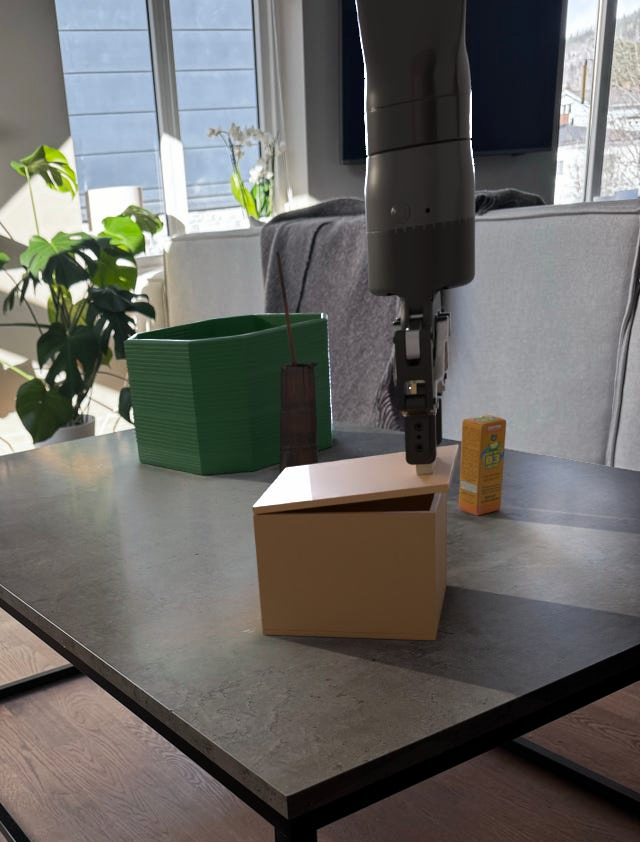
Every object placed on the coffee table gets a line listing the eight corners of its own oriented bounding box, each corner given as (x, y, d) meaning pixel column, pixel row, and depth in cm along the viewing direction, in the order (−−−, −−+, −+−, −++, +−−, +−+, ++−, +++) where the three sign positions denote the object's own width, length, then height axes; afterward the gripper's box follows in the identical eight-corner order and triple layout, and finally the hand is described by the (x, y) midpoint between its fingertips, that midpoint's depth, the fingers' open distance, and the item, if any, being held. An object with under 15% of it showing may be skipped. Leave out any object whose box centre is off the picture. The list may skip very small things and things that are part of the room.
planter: (224, 480, 124) (211, 342, 117) (120, 458, 144) (103, 339, 137) (358, 439, 137) (353, 311, 130) (245, 424, 157) (236, 313, 150)
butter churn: (359, 476, 118) (351, 242, 107) (305, 494, 114) (291, 252, 102) (309, 467, 125) (297, 247, 114) (256, 484, 121) (239, 256, 109)
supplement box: (478, 517, 98) (480, 423, 94) (457, 510, 101) (459, 419, 97) (504, 510, 99) (507, 417, 95) (482, 503, 102) (484, 413, 98)
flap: (459, 451, 77) (453, 393, 75) (449, 491, 67) (442, 426, 65) (286, 474, 83) (277, 421, 81) (252, 514, 73) (242, 455, 71)
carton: (446, 584, 82) (447, 469, 78) (435, 640, 72) (435, 512, 68) (293, 582, 87) (286, 474, 83) (262, 634, 77) (252, 515, 73)
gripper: (469, 214, 58) (470, 476, 65) (479, 209, 70) (479, 430, 77) (350, 231, 61) (362, 481, 67) (379, 223, 73) (387, 435, 80)
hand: (424, 452), depth 72 cm, fingers closed on flap, 5 cm apart
